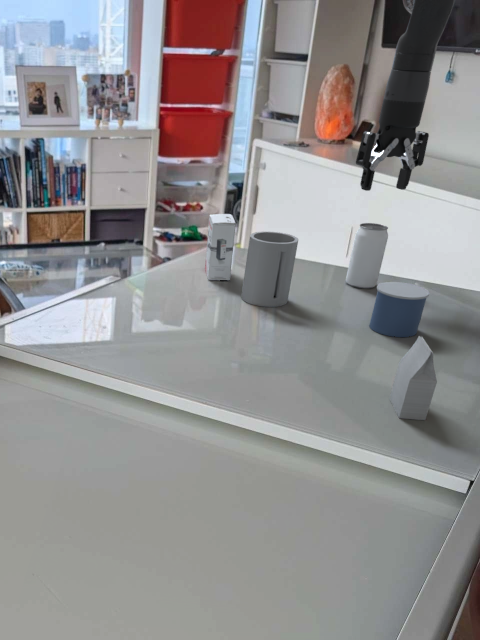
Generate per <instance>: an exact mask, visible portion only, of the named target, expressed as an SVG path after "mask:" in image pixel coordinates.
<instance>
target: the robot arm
mask: <svg viewBox="0 0 480 640" xmlns="http://www.w3.org/2000/svg"><path fill="white" fill-rule="evenodd" d="M455 1H456V0H402V3H403V7H404V9H405V10H406V11H407V13H409V14H410V18H409V21H408V24H407V27H406V30H405V32H404V33H402V34H401V35H400V37H399V39H398V41H397V44H396V48H395V51H394V52H395V53H394V57H393V61H392V66H391V70H390V72H389V75H388V79H387V82H386V86H385V91H384V94H383V99H382V104H381V109H380V112H379V118H378V123H379V125H378V126H379V127H378V130H377V132H373V131H367V130H365V131H363V133H362V135H361V139H360V144H359V147H358V152H357V156H356V160H355V164H356V165H357V166H359V167H361V168H362V174H361V179H360V184H359V185H360V188H361V190H362V191H365V192H368V191H369V192H370V191H371V190H372V187H373V182H374V177H375V172H376V170H375V169H376V168H377V167H378V165H379V164H380V163H381V162H383V161H385V159H386V158H392V157H393V158H394V157H396V158H398V159H399V161H400V165H401V167H400V168H399V171H398V172H399V173H398V178H397V181H396V185H395V187H396V189H398V190H402V191H403V190H406V189H407V187H408V185H409V184H410V180H411V175H412V171H413V170H414V169H415V168H416V167H421V166H422V165H423V164H424V161H425V155H426V151H427V146H428V141H429V137H430V135H429V133H428V132H426V131H420V130H417V128H418V127H419V126H420V125H421V120H422V116H423V112H424V108H425V104H426V100H427V96H428V91H429V88H430V82H431V74H432V70H433V65H434V61H435V57H436V53H437V49H438V44H439V41H440V40H441V37H442V35H443V33H444V30H445V28H446V26H447V23H448V21H449V18H450V15H451V13H452V10H453V8H454V5H455Z"/></svg>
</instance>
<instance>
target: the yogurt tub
mask: <svg viewBox="0 0 480 640" xmlns="http://www.w3.org/2000/svg"><path fill="white" fill-rule="evenodd" d="M376 290H377V292H376V297H375V301H374V305H373V308H372V313H371V317H370V321H369V325H368V326H369V329H370V330H372V331H373V332H375V333H378V334H379V335H383V336H387V337H388V336H389V337H394V336H395V337H394V338H410V337H415V336H416V335H417V333H418V330H419V326H420V322H421V318H422V316H423V312H424V308H425V304H426V301H427V298H429V296H430V291H429V290H428V289H426V287H423V286H421V285H417V284H413V283H409V282H403V281H384V282H379V283H377V284H376ZM409 336H410V337H409Z"/></svg>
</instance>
